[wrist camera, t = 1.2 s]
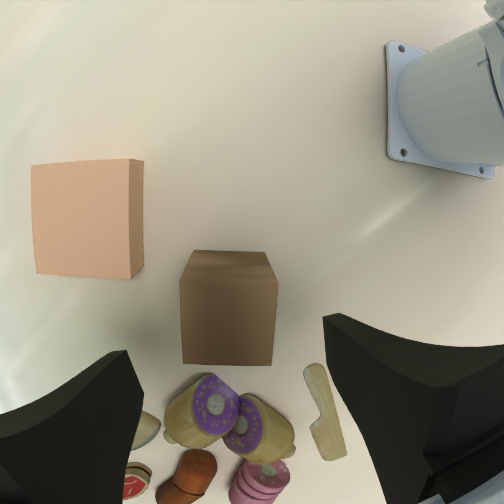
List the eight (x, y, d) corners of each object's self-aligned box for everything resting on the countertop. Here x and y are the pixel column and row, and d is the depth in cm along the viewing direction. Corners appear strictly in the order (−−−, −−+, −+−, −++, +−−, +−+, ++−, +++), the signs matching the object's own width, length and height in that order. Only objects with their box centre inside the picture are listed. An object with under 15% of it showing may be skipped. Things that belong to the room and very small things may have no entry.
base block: (145, 161, 17) (129, 158, 14) (145, 263, 18) (131, 279, 15) (56, 165, 17) (31, 165, 14) (60, 260, 18) (36, 273, 15)
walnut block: (264, 252, 18) (278, 283, 13) (260, 316, 19) (271, 365, 14) (194, 249, 18) (179, 280, 13) (194, 314, 19) (183, 363, 14)
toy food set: (312, 329, 20) (329, 361, 16) (349, 463, 24) (361, 493, 20) (25, 402, 21) (6, 429, 17) (118, 505, 25) (111, 531, 21)
